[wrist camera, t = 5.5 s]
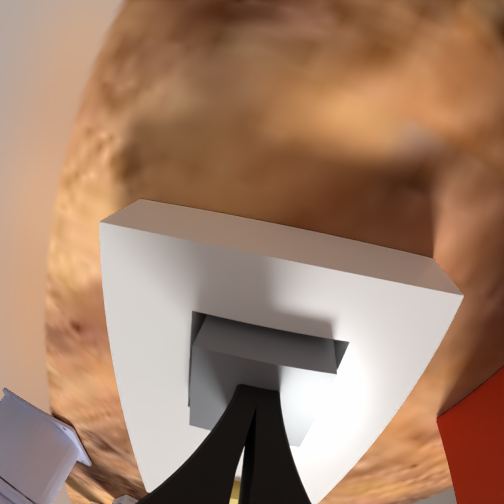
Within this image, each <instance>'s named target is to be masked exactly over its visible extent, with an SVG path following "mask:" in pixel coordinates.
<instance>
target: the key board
mask: <svg viewBox="0 0 504 504" xmlns="http://www.w3.org/2000/svg"><path fill="white" fill-rule="evenodd" d="M99 236H100V257H101V272H102V284H103V295H104V304H105V313H106V321H107V328H108V335H109V342H110V348H111V355H112V360H113V366H114V371H115V377H116V382H117V387H118V391H119V396H120V401H121V405H122V409H123V413H124V418H125V422H126V425H127V429H128V433H129V437H130V440H131V444H132V448H133V451H134V454H135V458H136V461H137V464H138V467H139V470H140V474H141V477H142V480H143V483H144V485H145V488H146V491H147V492H149V493H151V492H152V491H153V490H154V489H156V488H157V487H158V486H159V485H161V484H162V483H163V482H164V481H165V480H166V479H167V478H168V477H170V476H171V475H172V474H173V473H174V472H175V471H176V470H177V469H178V468H179V467H180V466H181V465H182V464H183V463H184V462H185V461H186V460H187V459H188V458H189V457H190V456H191V455H192V454H193V453H194V451H195V450H196V449H197V448H198V447H199V445H200V444H201V443H202V442H203V441H204V439H205V438H206V437H207V436H208V434H209V433H210V432H211V431H210V430H206V429H202V428H198V427H195V426H191V425H189V418H190V388H191V366H192V347H193V344H194V342H195V340H196V337H197V335H198V333H199V331H200V329H201V327H202V324H203V322H204V320H205V318H206V316H207V314H209V315H213V316H218V317H222V318H227V319H231V320H236V321H240V322H245V323H250V324H254V325H259V326H264V327H269V328H274V329H279V330H284V331H289V332H295V333H300V334H306V335H311V336H317V337H323V338H329V339H334V348H335V358H336V368H337V376H336V378H335V380H334V382H333V384H332V386H331V388H330V390H329V392H328V394H327V396H326V398H325V400H324V402H323V404H322V406H321V408H320V410H319V412H318V414H317V416H316V418H315V420H314V422H313V424H312V425H311V427H310V429H309V431H308V433H307V435H306V436H305V438H304V440H303V442H302V444H301V445H300V447H296V446H290V449H291V452H292V456H293V459H294V462H295V465H296V468H297V471H298V473H299V476H300V479H301V481H302V484H303V486H304V488H305V491H306V493H307V495H308V497H309V499H310V501H311V503H312V504H317V503H318V502H319V501H320V500H321V499H323V498H324V497H325V496H326V495H327V494H328V493H329V492H330V491H331V490H332V489H333V488H334V486H335V485H336V484H337V483H338V482H339V481H340V480H341V479H342V478H343V477H344V476H345V475H346V474H347V473H348V472H349V470H350V469H351V468H352V467H353V466H354V465H355V464H356V463H357V461H358V460H359V459H360V458H361V457H362V456H363V454H364V453H365V452H366V451H367V450H368V449H369V447H370V446H371V445H372V444H373V442H374V441H375V440H376V439H377V437H378V436H379V435H380V434H381V432H382V431H383V430H384V428H385V427H386V426H387V424H388V423H389V422H390V420H391V419H392V418H393V416H394V415H395V414H396V412H397V411H398V409H399V408H400V407H401V405H402V404H403V402H404V401H405V399H406V398H407V396H408V395H409V394H410V392H411V391H412V389H413V387H414V386H415V384H416V383H417V381H418V380H419V378H420V377H421V375H422V373H423V372H424V370H425V369H426V367H427V365H428V364H429V362H430V360H431V359H432V357H433V355H434V353H435V352H436V350H437V348H438V346H439V345H440V343H441V341H442V339H443V337H444V335H445V334H446V332H447V330H448V328H449V326H450V324H451V322H452V320H453V318H454V316H455V314H456V312H457V310H458V308H459V306H460V304H461V302H462V299H463V297H464V295H463V294H462V293H461V291H460V290H459V289H458V288H457V286H456V285H455V284H454V283H453V281H452V280H451V279H450V278H449V276H448V275H447V274H446V273H445V271H444V270H443V269H442V268H441V267H440V266H439V264H438V263H437V262H436V261H435V260H434V258H429V257H425V256H421V255H417V254H413V253H409V252H404V251H400V250H396V249H391V248H387V247H383V246H378V245H374V244H370V243H365V242H361V241H356V240H352V239H347V238H342V237H338V236H333V235H328V234H324V233H319V232H314V231H310V230H305V229H300V228H295V227H290V226H285V225H280V224H275V223H270V222H265V221H260V220H255V219H250V218H245V217H239V216H234V215H229V214H224V213H218V212H213V211H207V210H202V209H196V208H191V207H185V206H179V205H174V204H168V203H162V202H156V201H150V200H144V199H139V200H137V201H135V202H133V203H132V204H130V205H128V206H126V207H124V208H123V209H121V210H119V211H117V212H116V213H114V214H112V215H110V216H108V217H107V218H105V219H103V220H102V221H100V222H99ZM243 455H244V449H243V452H242V455H241V458H240V461H239V464H238V467H237V470H236V474H235V479H234V480H235V481H240V482H241V474H242V464H243Z"/></svg>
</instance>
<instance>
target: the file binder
mask: <svg viewBox="0 0 504 504" xmlns="http://www.w3.org/2000/svg"><path fill="white" fill-rule="evenodd" d="M436 422H437V425H438V428H439V432H440V435H441V439H442V442H443V446H444V450H445V453H446V457H447V461H448V465H449V469H450V473H451V478H452V482H453V487H454V491H455V496H456V501H457V504H504V366H503V367H502V368H501V369H500V370H499V371H497V372H496V373H495V374H494V375H493V376H492V377H490V378H489V379H488V380H487V381H486V382H485V383H483V384H482V385H481V386H480V387H478V388H477V389H476V390H475V391H474V392H472V393H471V394H470V395H468V396H467V397H466V398H465V399H463V400H462V401H461V402H459V403H458V404H457V405H455V406H454V407H452V408H451V409H450V410H448V411H447V412H445V413H444V414H443V415H441V416H440V417H438V418H437V421H436Z"/></svg>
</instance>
